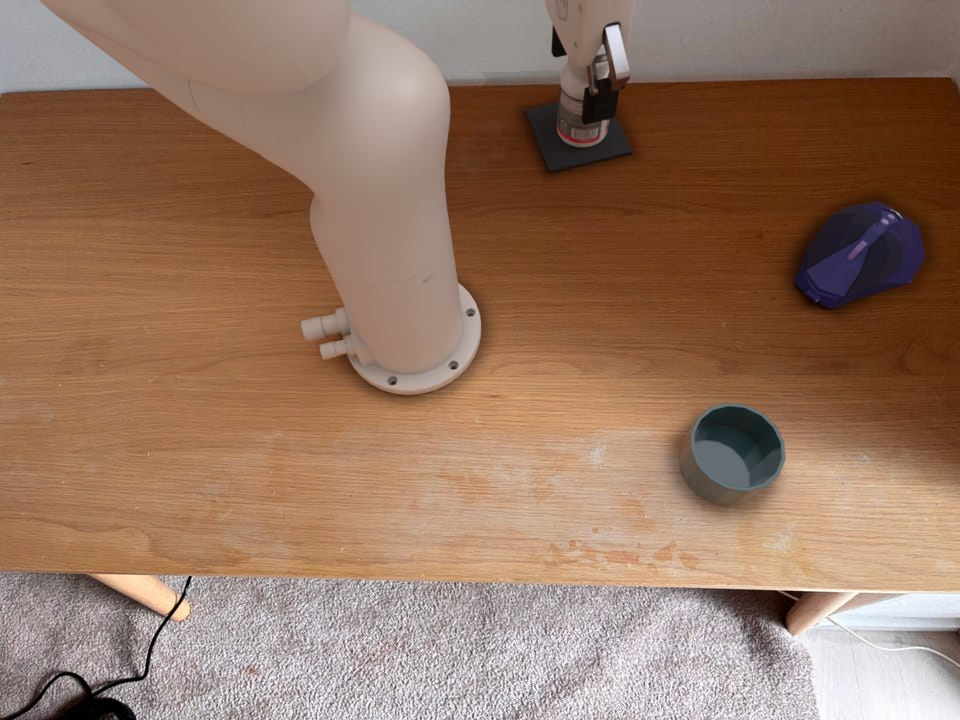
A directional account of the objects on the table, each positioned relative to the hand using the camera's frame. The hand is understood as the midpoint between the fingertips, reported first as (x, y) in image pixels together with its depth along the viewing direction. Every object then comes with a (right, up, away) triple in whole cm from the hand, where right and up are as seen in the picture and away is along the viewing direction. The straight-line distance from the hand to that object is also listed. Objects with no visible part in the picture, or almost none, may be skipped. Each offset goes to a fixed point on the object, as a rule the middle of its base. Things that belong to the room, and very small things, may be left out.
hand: (581, 85), depth 67 cm
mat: (0, -3, +6) cm, 6 cm away
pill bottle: (+1, -3, +6) cm, 6 cm away
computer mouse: (+25, -18, -3) cm, 31 cm away
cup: (+10, -36, -11) cm, 38 cm away
